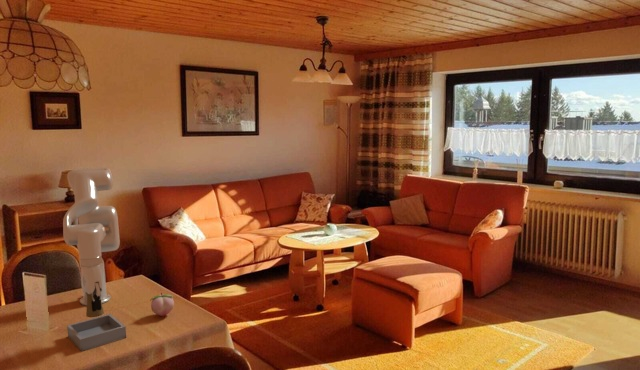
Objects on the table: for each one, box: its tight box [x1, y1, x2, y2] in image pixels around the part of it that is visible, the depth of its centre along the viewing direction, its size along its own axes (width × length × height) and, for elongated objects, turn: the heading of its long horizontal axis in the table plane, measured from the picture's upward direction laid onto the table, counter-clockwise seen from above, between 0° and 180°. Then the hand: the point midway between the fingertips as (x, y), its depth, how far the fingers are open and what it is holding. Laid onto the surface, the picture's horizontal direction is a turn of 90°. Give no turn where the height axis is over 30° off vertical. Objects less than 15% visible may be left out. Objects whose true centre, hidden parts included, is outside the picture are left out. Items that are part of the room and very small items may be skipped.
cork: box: [86, 287, 105, 318], centre depth 187 cm, size 6×6×11 cm
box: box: [66, 313, 127, 352], centre depth 189 cm, size 16×16×4 cm
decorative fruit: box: [150, 292, 175, 317], centre depth 208 cm, size 9×8×10 cm
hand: (94, 308), depth 188 cm, fingers closed on cork, 4 cm apart
